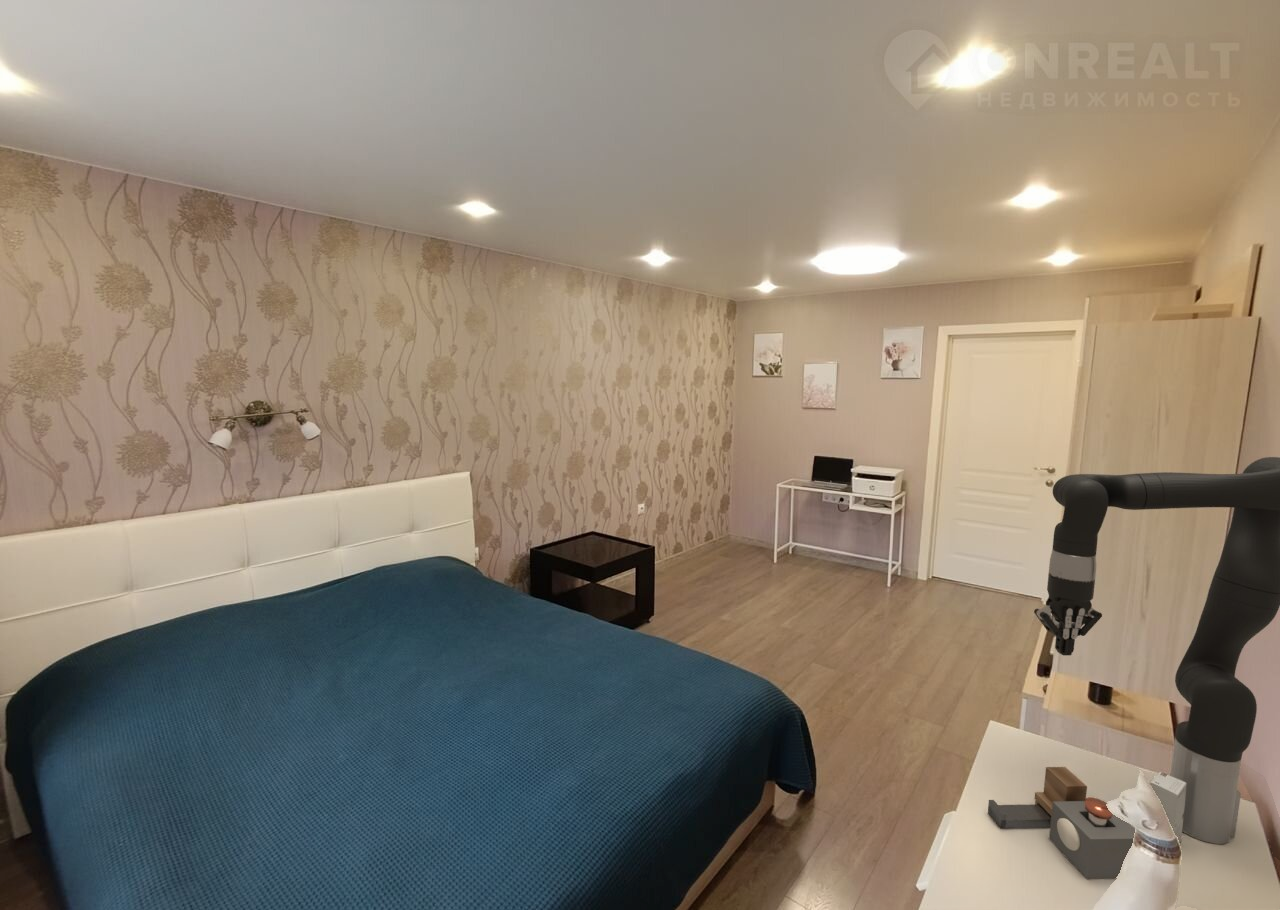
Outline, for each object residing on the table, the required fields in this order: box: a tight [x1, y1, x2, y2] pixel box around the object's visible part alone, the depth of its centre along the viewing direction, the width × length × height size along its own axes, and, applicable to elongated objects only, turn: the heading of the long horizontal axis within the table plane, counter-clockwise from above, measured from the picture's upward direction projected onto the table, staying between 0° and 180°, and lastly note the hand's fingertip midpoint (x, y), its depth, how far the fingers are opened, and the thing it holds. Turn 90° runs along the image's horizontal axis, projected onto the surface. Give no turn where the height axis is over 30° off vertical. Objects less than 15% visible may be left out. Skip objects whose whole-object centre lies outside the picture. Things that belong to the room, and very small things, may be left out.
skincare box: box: [1149, 771, 1187, 843], centre depth 108 cm, size 6×4×12 cm
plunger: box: [1085, 797, 1113, 827], centre depth 104 cm, size 4×4×7 cm
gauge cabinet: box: [1048, 801, 1136, 880], centre depth 104 cm, size 10×9×8 cm
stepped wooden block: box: [1034, 766, 1088, 815], centre depth 113 cm, size 7×6×9 cm
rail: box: [987, 799, 1051, 830], centre depth 113 cm, size 20×4×3 cm, turn 91°
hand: (1063, 653), depth 115 cm, fingers closed
